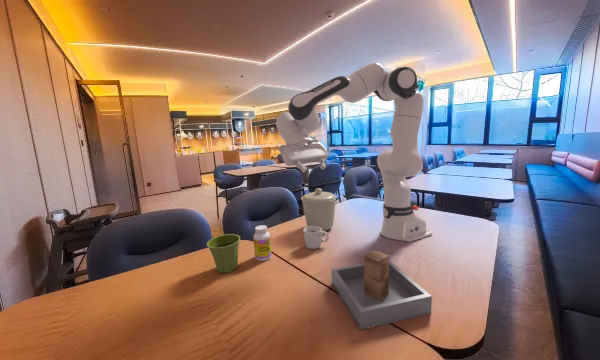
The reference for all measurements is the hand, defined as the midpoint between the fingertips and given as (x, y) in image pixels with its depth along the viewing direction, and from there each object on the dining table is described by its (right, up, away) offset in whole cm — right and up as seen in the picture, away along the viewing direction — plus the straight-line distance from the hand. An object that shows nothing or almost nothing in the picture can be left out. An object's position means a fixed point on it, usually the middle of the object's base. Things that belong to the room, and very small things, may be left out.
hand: (314, 169), depth 93 cm
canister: (+5, -29, +33) cm, 44 cm away
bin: (+17, -38, -22) cm, 47 cm away
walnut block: (+17, -37, -23) cm, 46 cm away
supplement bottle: (-21, -36, +5) cm, 41 cm away
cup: (+1, -33, +12) cm, 35 cm away
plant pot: (-33, -38, -2) cm, 50 cm away
